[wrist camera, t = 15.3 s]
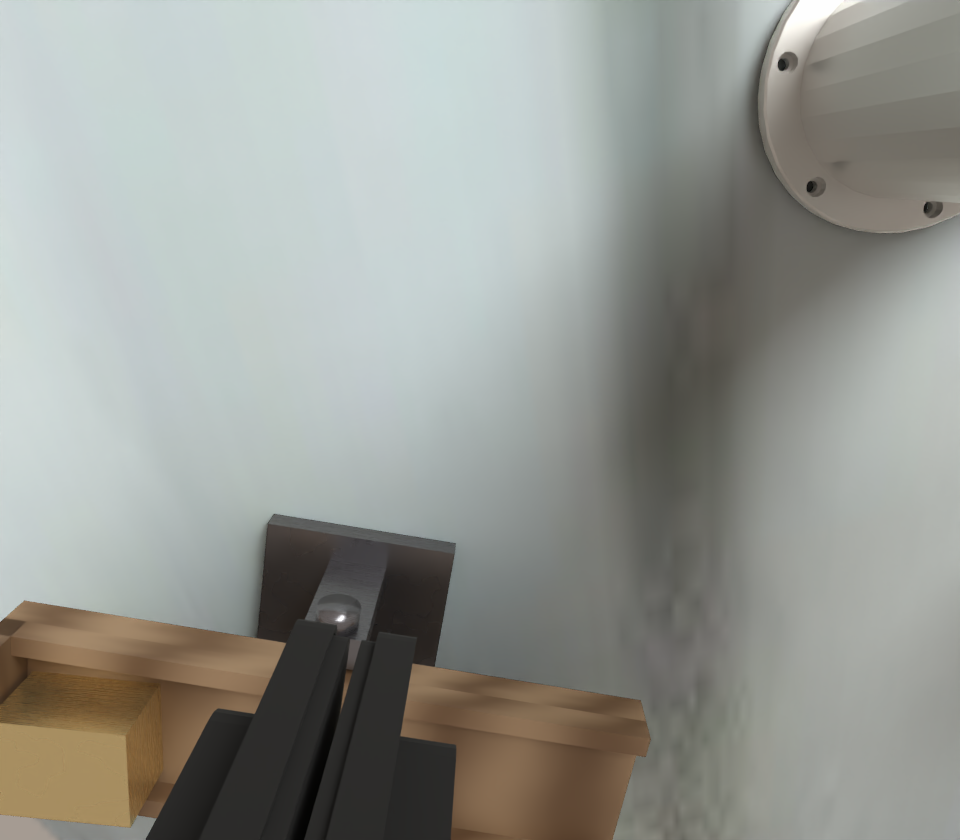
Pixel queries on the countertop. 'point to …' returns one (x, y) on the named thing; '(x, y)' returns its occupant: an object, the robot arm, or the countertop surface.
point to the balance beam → (428, 712)
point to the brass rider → (80, 748)
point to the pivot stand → (354, 583)
